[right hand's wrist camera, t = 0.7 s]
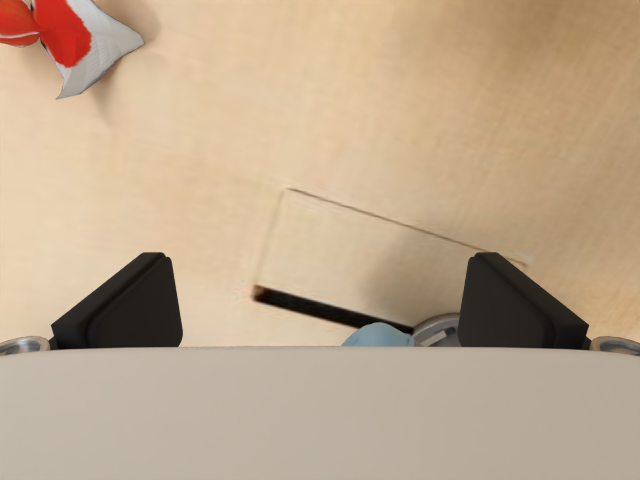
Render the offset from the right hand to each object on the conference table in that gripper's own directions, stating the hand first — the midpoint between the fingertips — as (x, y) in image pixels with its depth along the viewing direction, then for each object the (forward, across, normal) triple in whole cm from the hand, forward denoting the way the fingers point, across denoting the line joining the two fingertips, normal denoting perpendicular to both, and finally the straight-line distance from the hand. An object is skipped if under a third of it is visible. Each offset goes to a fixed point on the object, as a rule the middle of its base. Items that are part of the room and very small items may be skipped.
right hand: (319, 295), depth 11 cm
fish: (+31, +25, -13) cm, 41 cm away
